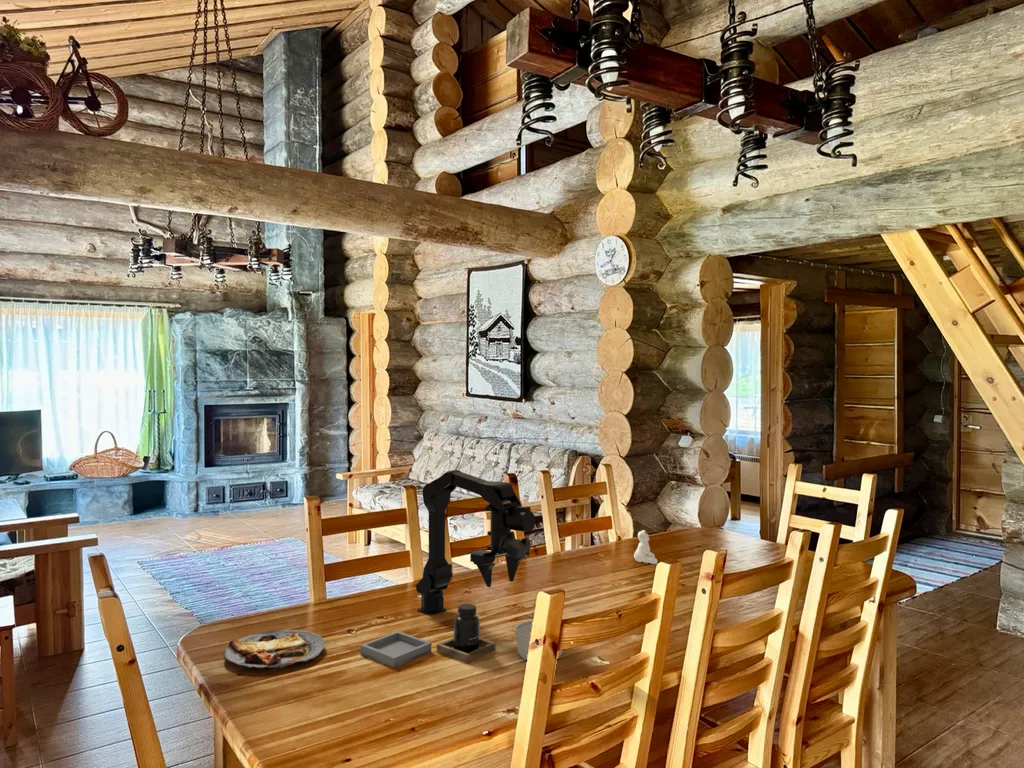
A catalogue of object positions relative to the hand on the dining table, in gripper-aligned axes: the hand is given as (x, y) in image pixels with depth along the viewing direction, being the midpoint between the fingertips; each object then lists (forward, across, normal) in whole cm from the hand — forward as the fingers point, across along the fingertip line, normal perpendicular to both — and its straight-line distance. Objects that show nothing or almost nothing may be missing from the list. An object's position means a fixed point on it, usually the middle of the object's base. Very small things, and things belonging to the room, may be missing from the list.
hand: (500, 584), depth 206 cm
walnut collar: (+15, -14, -1) cm, 21 cm away
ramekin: (+15, -2, -17) cm, 23 cm away
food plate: (+15, -50, +33) cm, 62 cm away
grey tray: (+15, -28, +11) cm, 34 cm away
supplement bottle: (+15, -14, -1) cm, 21 cm away
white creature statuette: (+10, +94, +12) cm, 95 cm away
